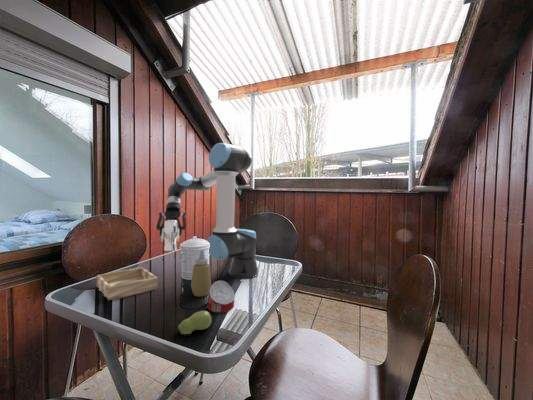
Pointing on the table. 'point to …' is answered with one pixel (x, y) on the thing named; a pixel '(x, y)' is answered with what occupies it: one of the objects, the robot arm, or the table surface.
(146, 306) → the table surface
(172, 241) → the beer glass
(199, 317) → the pear
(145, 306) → the table surface
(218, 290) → the canned food
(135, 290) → the crate
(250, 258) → the robot arm
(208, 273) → the squeeze bottle
